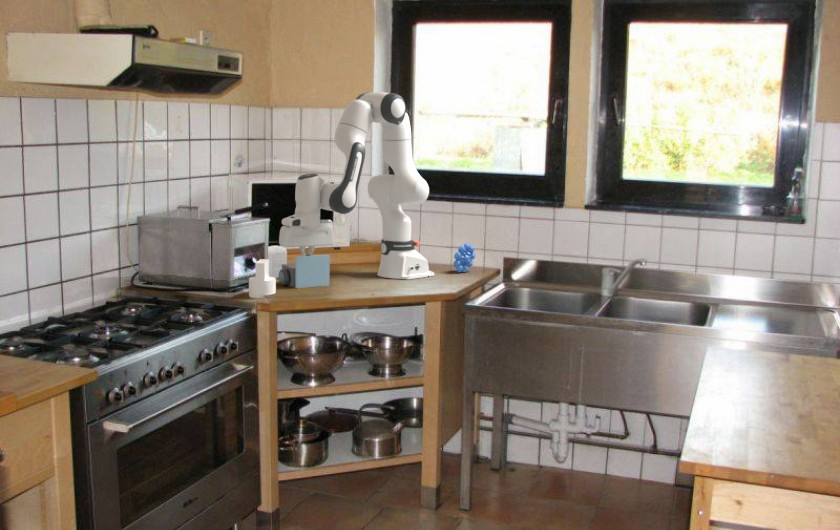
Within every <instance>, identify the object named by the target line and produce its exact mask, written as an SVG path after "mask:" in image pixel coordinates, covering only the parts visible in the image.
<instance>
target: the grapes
mask: <svg viewBox="0 0 840 530" xmlns="http://www.w3.org/2000/svg"><path fill="white" fill-rule="evenodd" d="M457 250H458V251H457V252H455V253H454V255H453V257H454V261H453V267H454V268H455V270H456V272H457V273H463V272H465V273H467V272H468V271H469V268H472V267H473V266H474V262H473V260H474V259H476V254H475V247H474V245H471V244H470V243H469V242H466V243H465V244H463V245H462V244H461V245H459V247H458V248H457Z"/></svg>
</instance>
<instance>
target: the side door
mask: <svg viewBox="0 0 840 530" xmlns="http://www.w3.org/2000/svg"><path fill="white" fill-rule="evenodd" d="M294 259H295V262H294V264H295V287H294V288H295V289H305V288H316V287H326V286H327V287H328V286H330V279H331V278H330V277H331V276H330V275H331V274H330V270H331V269H330V268H331V255H330V254H317V255H315V254H313V255H312V256H302V255H301V256H295V258H294Z"/></svg>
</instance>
